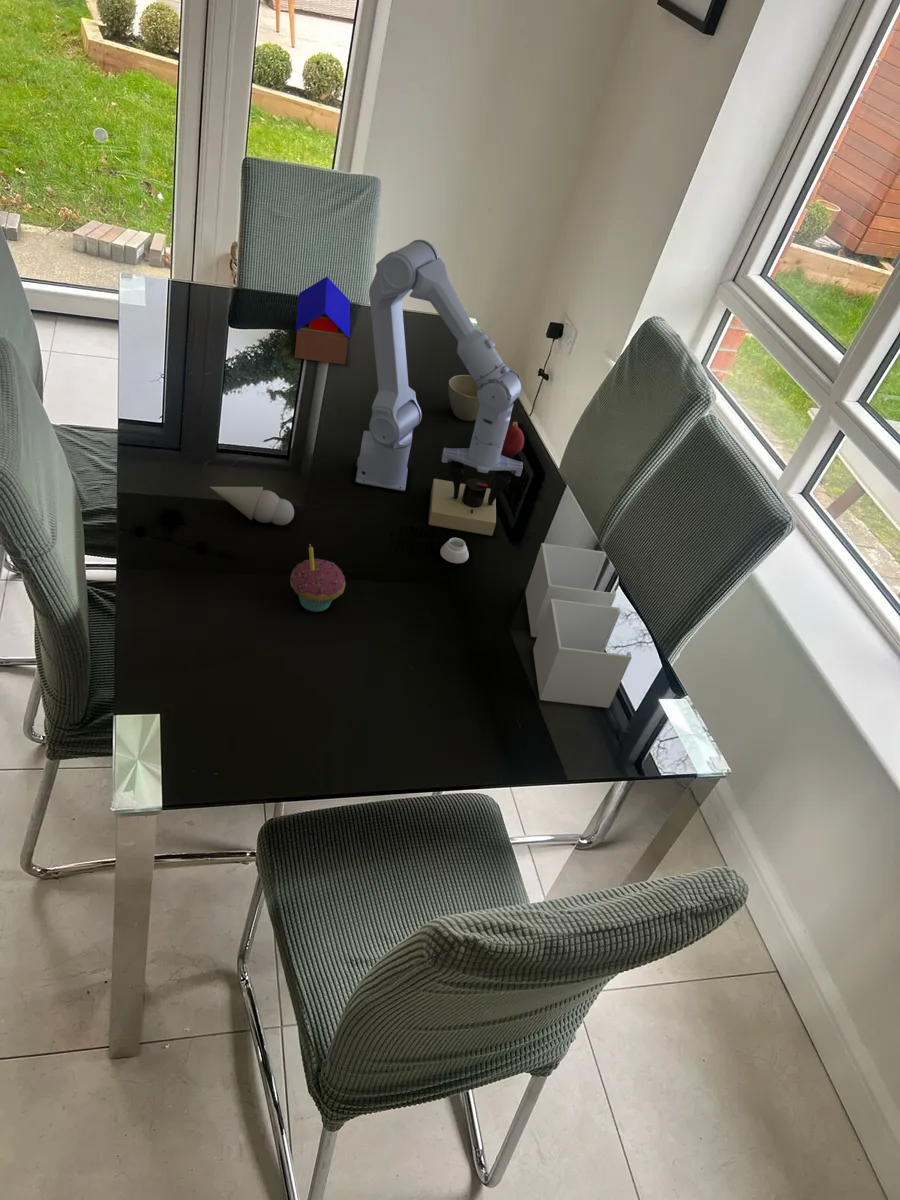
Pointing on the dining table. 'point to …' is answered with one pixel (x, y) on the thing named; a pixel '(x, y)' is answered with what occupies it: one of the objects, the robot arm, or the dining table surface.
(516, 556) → the dining table surface
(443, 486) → the panel
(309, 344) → the house
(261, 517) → the ice cream cone
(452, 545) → the white jar
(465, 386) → the flower pot
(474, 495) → the knob
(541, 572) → the storage container
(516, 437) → the onion
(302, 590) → the cupcake
